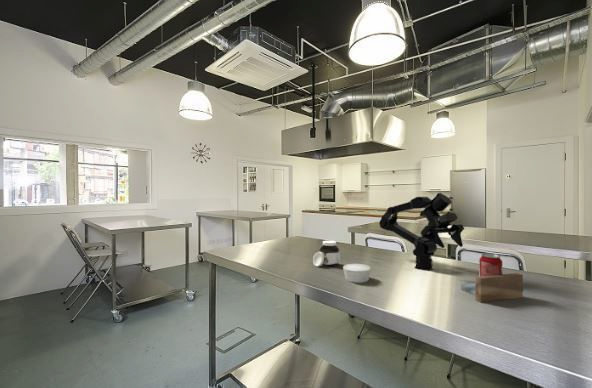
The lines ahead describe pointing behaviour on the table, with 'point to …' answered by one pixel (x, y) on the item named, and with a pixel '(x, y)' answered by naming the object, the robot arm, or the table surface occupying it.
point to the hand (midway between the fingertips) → (452, 246)
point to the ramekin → (357, 272)
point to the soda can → (490, 265)
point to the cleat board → (496, 287)
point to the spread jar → (327, 255)
